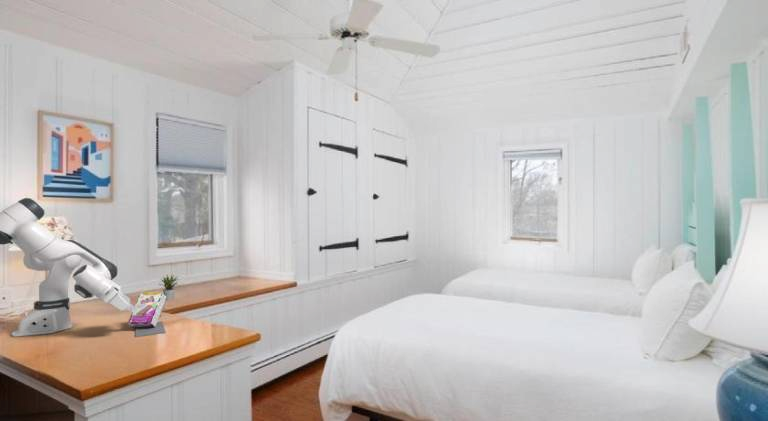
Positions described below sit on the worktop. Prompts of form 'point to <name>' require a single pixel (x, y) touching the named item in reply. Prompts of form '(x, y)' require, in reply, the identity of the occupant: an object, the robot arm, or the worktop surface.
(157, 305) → the candy bar box
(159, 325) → the mat
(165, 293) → the house plant
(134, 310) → the robot arm
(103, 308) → the worktop surface
